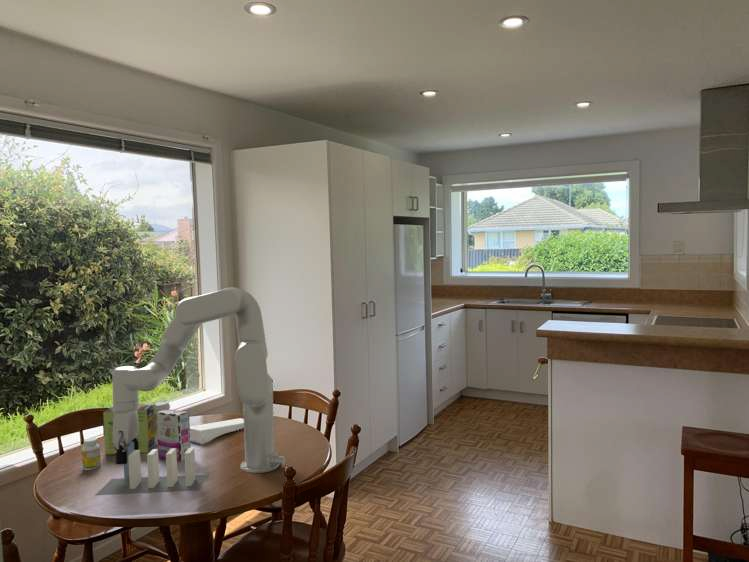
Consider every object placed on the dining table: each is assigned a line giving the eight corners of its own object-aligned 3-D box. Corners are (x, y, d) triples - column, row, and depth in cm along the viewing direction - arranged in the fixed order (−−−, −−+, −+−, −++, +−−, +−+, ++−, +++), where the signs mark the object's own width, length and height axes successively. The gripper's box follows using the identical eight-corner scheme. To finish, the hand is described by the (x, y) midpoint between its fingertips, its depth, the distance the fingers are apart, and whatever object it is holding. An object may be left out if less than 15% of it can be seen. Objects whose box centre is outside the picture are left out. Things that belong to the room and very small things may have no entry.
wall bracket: (239, 436, 236) (184, 447, 213) (237, 418, 238) (182, 427, 214) (256, 433, 231) (202, 445, 208) (254, 415, 233) (200, 424, 209)
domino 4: (195, 479, 175) (194, 447, 174) (191, 485, 170) (189, 453, 169) (190, 479, 175) (189, 447, 174) (185, 486, 170) (184, 453, 169)
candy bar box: (192, 458, 195) (190, 411, 194) (180, 463, 190) (178, 415, 190) (168, 453, 200) (166, 408, 199) (157, 458, 196) (155, 411, 195)
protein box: (149, 452, 202) (147, 409, 201) (104, 455, 201) (102, 411, 200) (158, 443, 212) (156, 402, 212) (115, 445, 211) (113, 404, 210)
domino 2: (159, 480, 174) (158, 449, 174) (153, 487, 169) (152, 454, 169) (154, 481, 174) (152, 449, 174) (148, 487, 169) (147, 455, 169)
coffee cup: (151, 430, 228) (150, 401, 228) (173, 429, 229) (172, 399, 228) (145, 437, 220) (144, 406, 219) (168, 435, 221) (166, 405, 220)
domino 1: (141, 481, 174) (139, 449, 174) (135, 488, 169) (133, 455, 169) (136, 482, 174) (134, 450, 174) (129, 488, 169) (128, 455, 169)
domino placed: (135, 471, 184) (133, 441, 183) (129, 477, 179) (128, 446, 178) (130, 472, 184) (128, 441, 183) (124, 478, 179) (122, 446, 178)
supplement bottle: (100, 469, 187) (99, 440, 187) (82, 472, 185) (80, 443, 184) (100, 463, 192) (99, 435, 192) (83, 466, 190) (81, 438, 189)
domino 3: (177, 480, 175) (176, 448, 174) (172, 486, 170) (171, 453, 169) (172, 480, 175) (170, 448, 174) (167, 487, 170) (165, 454, 169)
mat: (208, 476, 179) (208, 474, 179) (199, 491, 167) (199, 490, 167) (111, 480, 177) (111, 478, 177) (94, 496, 165) (94, 495, 165)
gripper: (124, 398, 189) (126, 449, 189) (102, 413, 171) (104, 468, 172) (147, 398, 189) (149, 448, 190) (127, 412, 172) (129, 468, 173)
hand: (127, 458), depth 181 cm, fingers open, 9 cm apart
